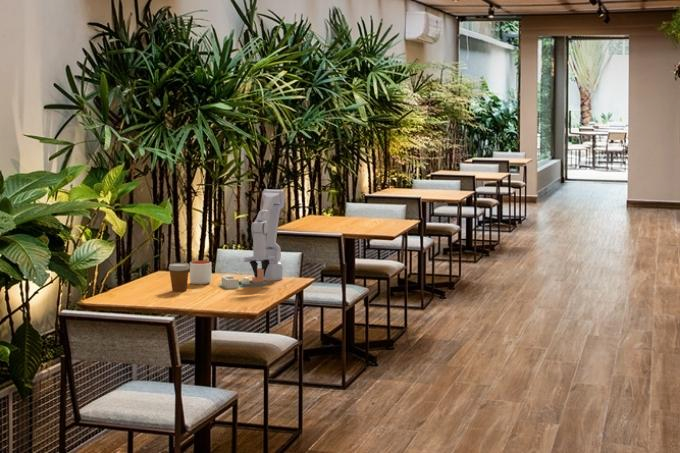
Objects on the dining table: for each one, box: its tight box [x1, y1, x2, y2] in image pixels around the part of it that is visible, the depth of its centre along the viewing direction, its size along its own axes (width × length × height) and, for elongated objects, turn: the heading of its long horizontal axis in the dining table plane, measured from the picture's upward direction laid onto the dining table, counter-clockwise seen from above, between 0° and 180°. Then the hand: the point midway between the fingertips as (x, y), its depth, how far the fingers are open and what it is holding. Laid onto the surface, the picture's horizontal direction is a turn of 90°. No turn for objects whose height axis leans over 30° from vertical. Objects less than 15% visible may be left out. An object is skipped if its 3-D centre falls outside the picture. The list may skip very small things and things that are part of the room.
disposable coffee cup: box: [168, 262, 190, 293], centre depth 457 cm, size 10×10×12 cm
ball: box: [240, 276, 250, 284], centre depth 466 cm, size 4×4×4 cm
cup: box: [189, 260, 212, 285], centre depth 476 cm, size 10×10×10 cm
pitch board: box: [217, 275, 269, 290], centre depth 468 cm, size 21×14×5 cm, turn 113°
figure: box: [251, 267, 265, 283], centre depth 468 cm, size 4×5×7 cm
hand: (259, 276), depth 469 cm, fingers closed on figure, 3 cm apart
